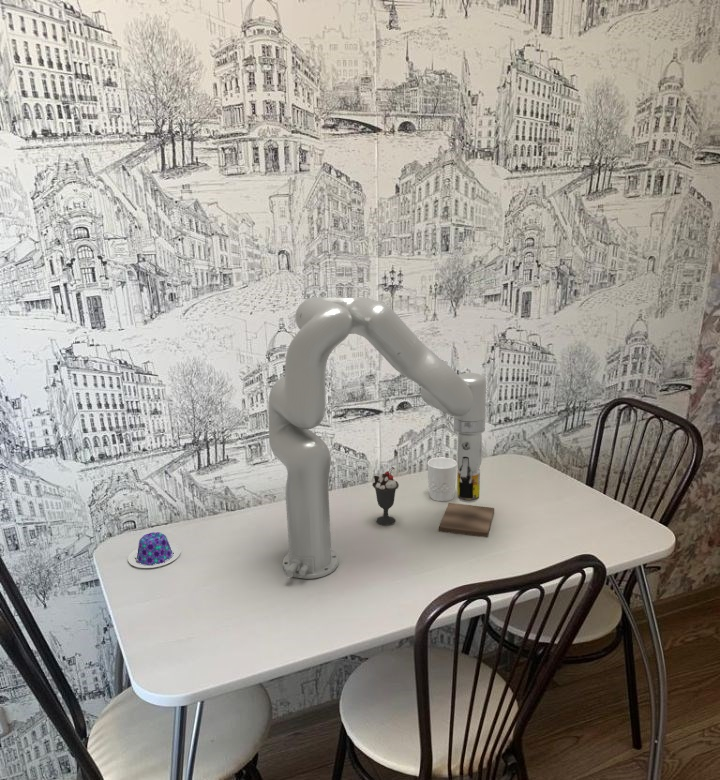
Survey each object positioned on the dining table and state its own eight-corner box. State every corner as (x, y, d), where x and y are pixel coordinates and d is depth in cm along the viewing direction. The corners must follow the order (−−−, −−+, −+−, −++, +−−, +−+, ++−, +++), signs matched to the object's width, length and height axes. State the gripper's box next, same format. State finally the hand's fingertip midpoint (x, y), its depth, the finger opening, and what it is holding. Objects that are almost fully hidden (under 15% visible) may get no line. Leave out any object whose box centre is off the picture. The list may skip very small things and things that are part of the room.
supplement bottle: (454, 501, 170) (455, 463, 167) (459, 492, 175) (460, 455, 172) (476, 504, 168) (477, 466, 165) (481, 495, 173) (482, 458, 170)
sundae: (403, 523, 173) (403, 469, 169) (379, 529, 171) (378, 473, 166) (392, 513, 179) (392, 459, 175) (369, 518, 177) (368, 464, 172)
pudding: (140, 576, 152) (137, 556, 151) (120, 556, 161) (117, 536, 160) (189, 558, 160) (187, 538, 158) (168, 539, 169) (166, 520, 167)
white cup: (428, 489, 192) (428, 456, 190) (456, 490, 191) (456, 457, 188) (426, 502, 185) (426, 467, 182) (456, 503, 184) (456, 468, 181)
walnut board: (487, 537, 165) (487, 532, 165) (438, 531, 169) (438, 526, 169) (494, 512, 178) (494, 507, 178) (448, 506, 182) (448, 502, 181)
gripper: (480, 437, 157) (478, 508, 162) (489, 414, 173) (487, 479, 178) (447, 434, 159) (447, 505, 165) (459, 412, 175) (458, 477, 180)
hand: (468, 491), depth 171 cm, fingers closed on supplement bottle, 5 cm apart
